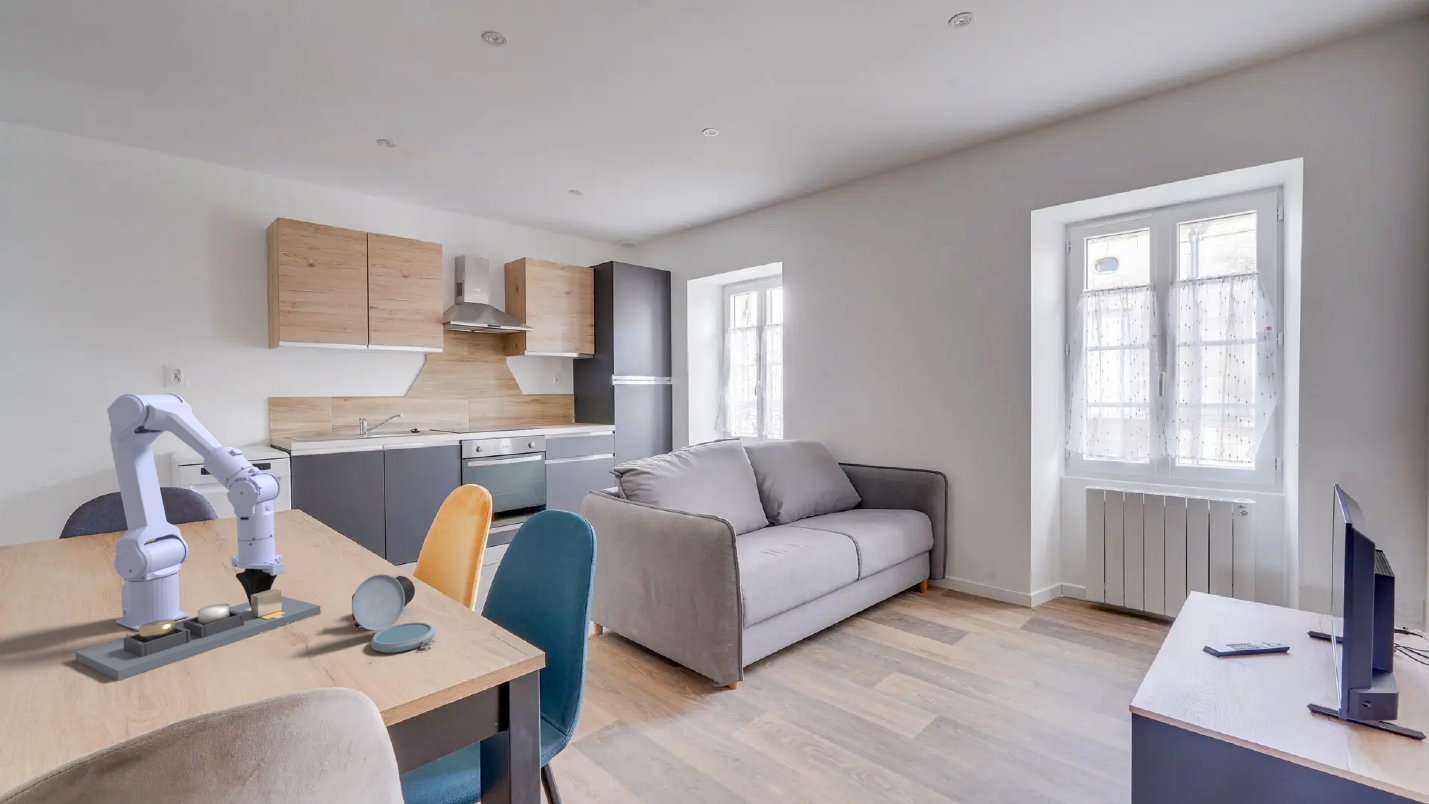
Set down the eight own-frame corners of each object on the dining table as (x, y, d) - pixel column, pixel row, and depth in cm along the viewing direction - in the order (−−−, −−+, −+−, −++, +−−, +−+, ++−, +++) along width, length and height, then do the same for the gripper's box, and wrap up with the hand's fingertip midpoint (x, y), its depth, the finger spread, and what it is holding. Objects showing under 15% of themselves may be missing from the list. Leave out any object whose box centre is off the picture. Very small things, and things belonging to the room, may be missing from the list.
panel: (75, 660, 99) (74, 639, 99) (275, 601, 126) (274, 584, 126) (118, 680, 92) (117, 657, 92) (320, 613, 119) (319, 595, 119)
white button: (193, 621, 107) (192, 610, 107) (222, 613, 111) (221, 602, 111) (205, 625, 105) (205, 614, 105) (234, 616, 109) (234, 605, 109)
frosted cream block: (251, 615, 114) (250, 595, 114) (274, 608, 117) (274, 588, 117) (258, 617, 113) (257, 597, 112) (281, 609, 116) (281, 590, 116)
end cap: (389, 628, 111) (388, 591, 111) (351, 628, 111) (350, 592, 111) (415, 608, 121) (415, 575, 121) (380, 608, 121) (379, 575, 121)
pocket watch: (399, 567, 112) (454, 577, 106) (400, 624, 113) (456, 638, 106) (345, 583, 104) (402, 595, 97) (347, 645, 104) (404, 662, 97)
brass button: (134, 638, 100) (133, 626, 100) (167, 628, 104) (167, 617, 104) (146, 643, 98) (146, 631, 98) (180, 633, 102) (179, 621, 102)
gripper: (300, 536, 116) (302, 605, 116) (258, 529, 123) (261, 595, 123) (259, 545, 110) (262, 618, 110) (217, 537, 116) (220, 606, 117)
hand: (258, 607), depth 116 cm, fingers closed
